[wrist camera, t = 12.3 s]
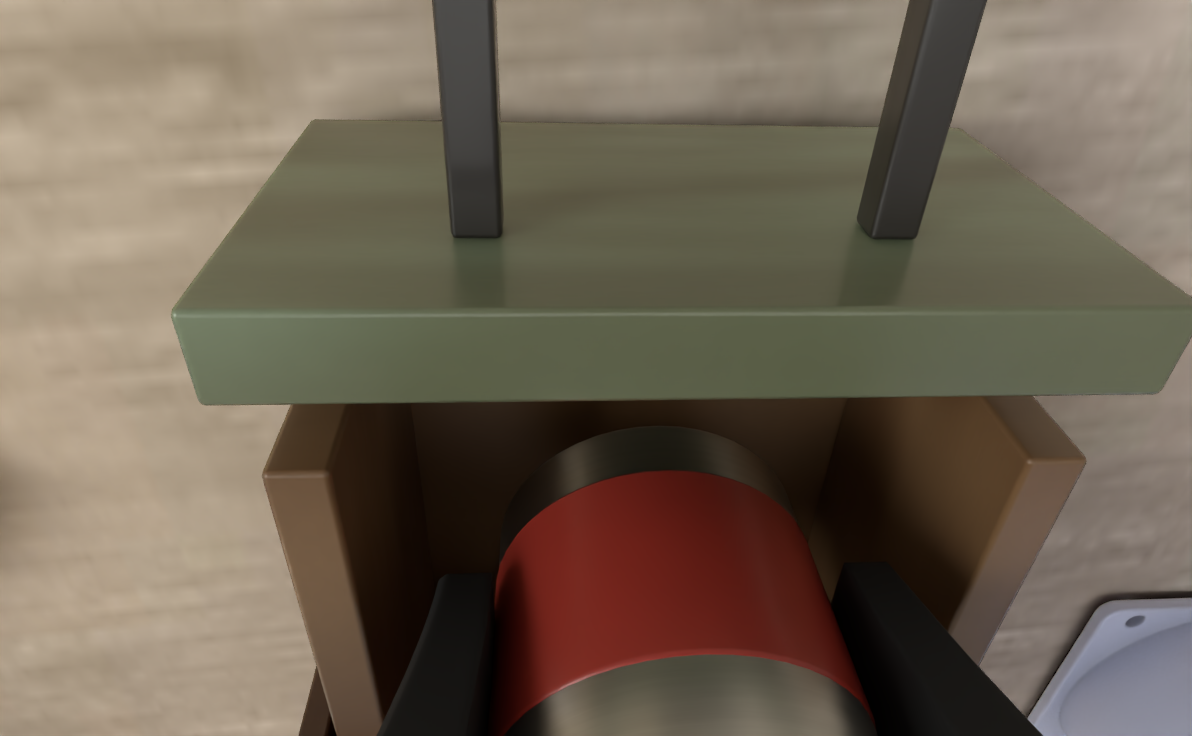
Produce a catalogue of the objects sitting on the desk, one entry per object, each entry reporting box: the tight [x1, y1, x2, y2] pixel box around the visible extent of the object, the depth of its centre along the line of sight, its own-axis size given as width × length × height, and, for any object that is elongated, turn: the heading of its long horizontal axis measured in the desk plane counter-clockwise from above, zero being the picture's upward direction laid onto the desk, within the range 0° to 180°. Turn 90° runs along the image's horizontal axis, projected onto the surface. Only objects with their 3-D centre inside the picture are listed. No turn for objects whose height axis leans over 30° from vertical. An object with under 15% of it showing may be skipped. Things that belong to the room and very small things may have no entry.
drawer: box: [171, 0, 1192, 736], centre depth 13 cm, size 16×11×6 cm, turn 178°
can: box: [487, 426, 878, 736], centre depth 11 cm, size 5×5×5 cm
